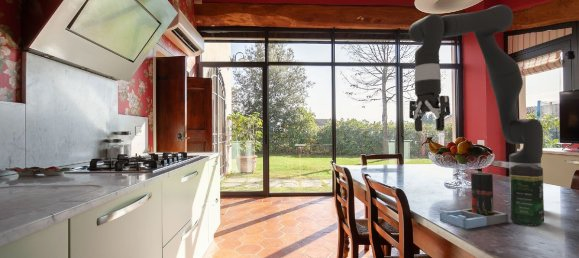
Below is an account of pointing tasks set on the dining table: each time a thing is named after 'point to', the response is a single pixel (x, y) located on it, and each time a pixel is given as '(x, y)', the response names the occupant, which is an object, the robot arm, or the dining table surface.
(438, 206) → the dining table surface
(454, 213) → the pale blue open frame
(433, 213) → the dining table surface
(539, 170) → the coffee jar
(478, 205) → the deodorant
